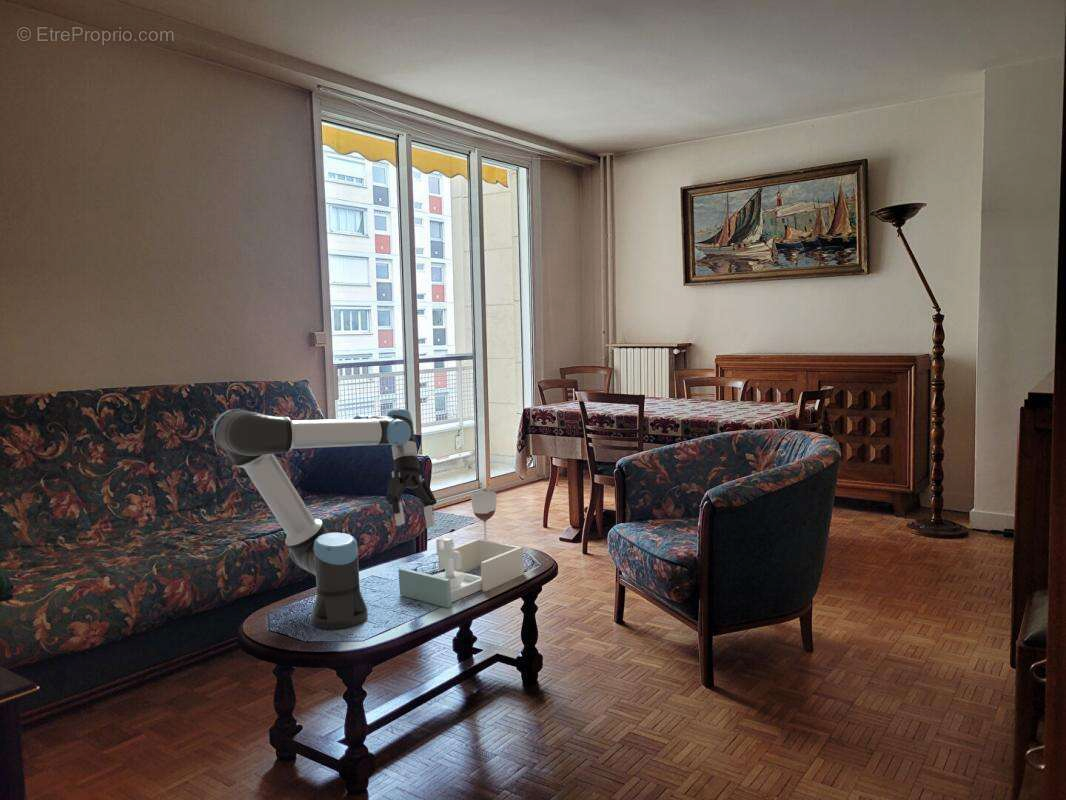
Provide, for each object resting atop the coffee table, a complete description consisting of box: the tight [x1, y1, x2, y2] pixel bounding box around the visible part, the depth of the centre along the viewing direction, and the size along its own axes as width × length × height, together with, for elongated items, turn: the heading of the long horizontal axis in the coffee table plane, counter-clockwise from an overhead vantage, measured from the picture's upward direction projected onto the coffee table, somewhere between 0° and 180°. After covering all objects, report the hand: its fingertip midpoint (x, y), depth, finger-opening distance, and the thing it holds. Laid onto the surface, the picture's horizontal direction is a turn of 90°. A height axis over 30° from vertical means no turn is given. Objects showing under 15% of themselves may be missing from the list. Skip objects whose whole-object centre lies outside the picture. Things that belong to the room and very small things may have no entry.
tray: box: [398, 567, 482, 609], centre depth 235 cm, size 19×20×8 cm
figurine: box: [433, 537, 467, 589], centre depth 236 cm, size 7×9×15 cm
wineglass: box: [470, 490, 497, 541], centre depth 271 cm, size 9×10×22 cm
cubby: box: [437, 538, 525, 593], centre depth 248 cm, size 19×19×9 cm
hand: (416, 526), depth 229 cm, fingers open, 13 cm apart
